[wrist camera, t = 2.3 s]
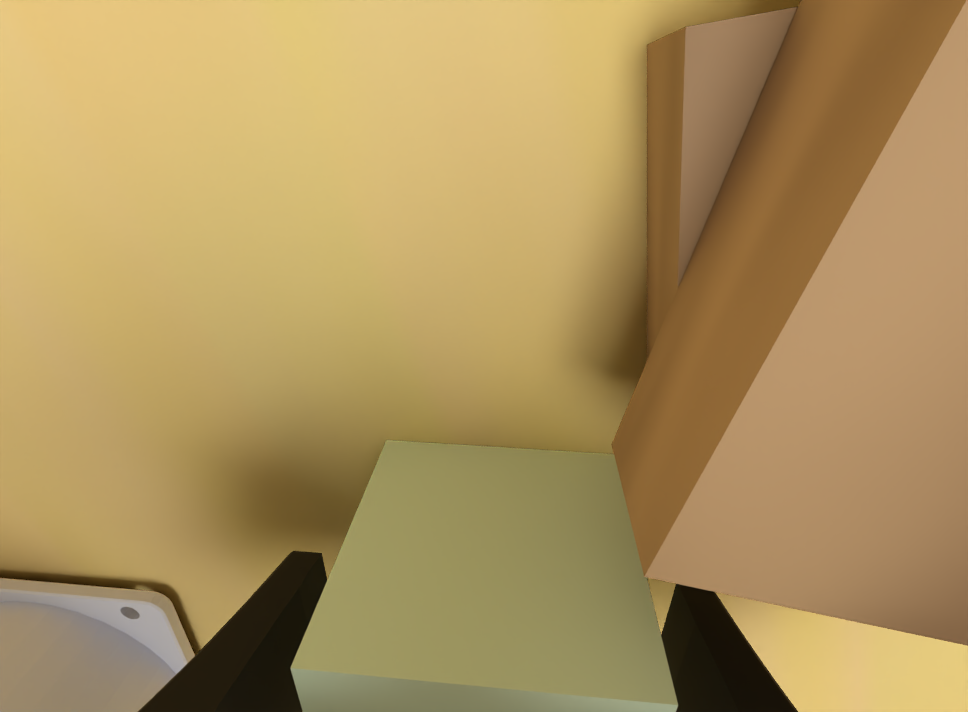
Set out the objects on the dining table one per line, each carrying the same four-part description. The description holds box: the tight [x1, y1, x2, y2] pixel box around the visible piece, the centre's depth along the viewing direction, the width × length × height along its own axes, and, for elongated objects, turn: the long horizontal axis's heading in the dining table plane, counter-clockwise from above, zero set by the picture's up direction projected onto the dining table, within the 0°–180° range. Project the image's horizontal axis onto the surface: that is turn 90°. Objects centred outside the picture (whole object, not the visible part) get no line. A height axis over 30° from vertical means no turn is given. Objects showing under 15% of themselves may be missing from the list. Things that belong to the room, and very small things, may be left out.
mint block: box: [290, 440, 678, 712], centre depth 10 cm, size 5×5×5 cm
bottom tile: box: [647, 7, 798, 360], centre depth 8 cm, size 7×7×2 cm
